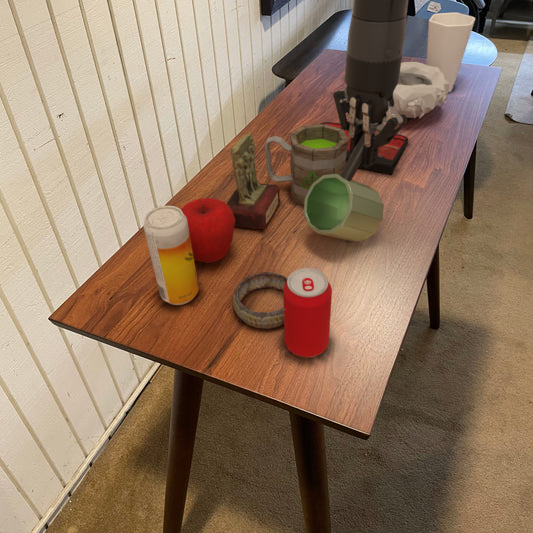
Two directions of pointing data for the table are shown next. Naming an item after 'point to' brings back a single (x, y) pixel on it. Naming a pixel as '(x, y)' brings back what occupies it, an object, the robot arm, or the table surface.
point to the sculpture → (250, 189)
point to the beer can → (171, 254)
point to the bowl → (419, 89)
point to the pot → (344, 203)
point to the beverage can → (307, 312)
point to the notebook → (381, 152)
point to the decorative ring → (253, 284)
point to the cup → (448, 43)
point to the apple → (209, 228)
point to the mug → (310, 156)
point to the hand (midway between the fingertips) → (362, 161)
